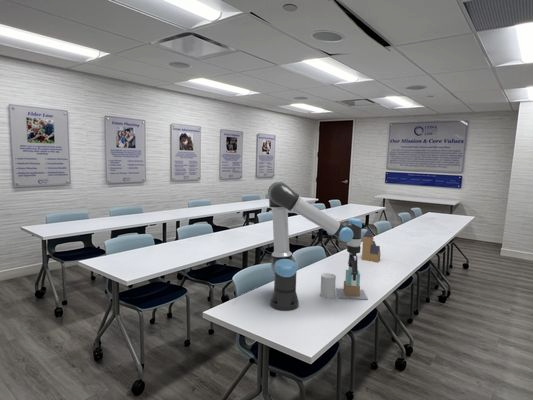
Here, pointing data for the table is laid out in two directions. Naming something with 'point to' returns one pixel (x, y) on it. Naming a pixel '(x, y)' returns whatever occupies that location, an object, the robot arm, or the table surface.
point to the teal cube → (349, 277)
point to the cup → (327, 285)
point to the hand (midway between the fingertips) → (351, 281)
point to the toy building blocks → (370, 248)
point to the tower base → (342, 296)
